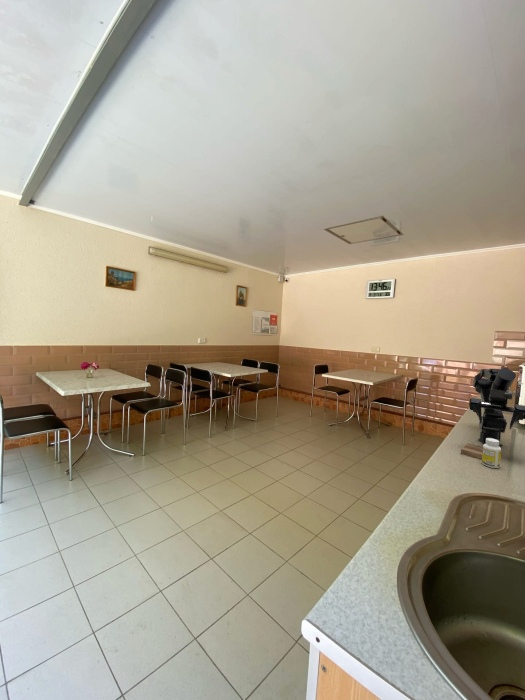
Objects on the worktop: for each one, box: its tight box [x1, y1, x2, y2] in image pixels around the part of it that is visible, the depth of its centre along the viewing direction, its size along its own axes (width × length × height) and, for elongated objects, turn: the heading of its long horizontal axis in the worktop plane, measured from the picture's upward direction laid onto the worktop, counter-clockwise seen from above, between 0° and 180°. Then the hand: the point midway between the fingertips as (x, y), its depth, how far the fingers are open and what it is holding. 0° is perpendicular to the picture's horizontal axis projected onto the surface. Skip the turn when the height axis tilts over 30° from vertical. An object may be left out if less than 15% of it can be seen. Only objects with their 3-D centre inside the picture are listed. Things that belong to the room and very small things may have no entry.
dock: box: [460, 442, 483, 461], centre depth 122 cm, size 10×8×2 cm
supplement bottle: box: [481, 438, 502, 469], centre depth 112 cm, size 5×5×10 cm
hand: (495, 425), depth 117 cm, fingers open, 9 cm apart
